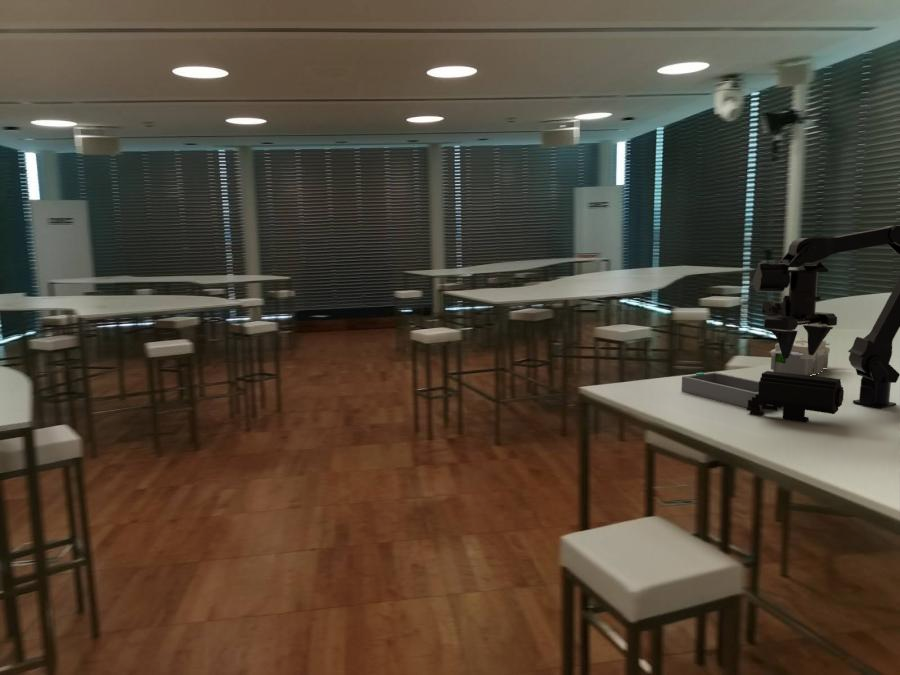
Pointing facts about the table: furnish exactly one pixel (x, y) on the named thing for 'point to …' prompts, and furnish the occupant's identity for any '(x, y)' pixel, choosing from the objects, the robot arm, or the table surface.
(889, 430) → the table surface
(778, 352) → the white box
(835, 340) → the table surface
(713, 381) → the gray open-top storage bin
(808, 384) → the black stepped block
